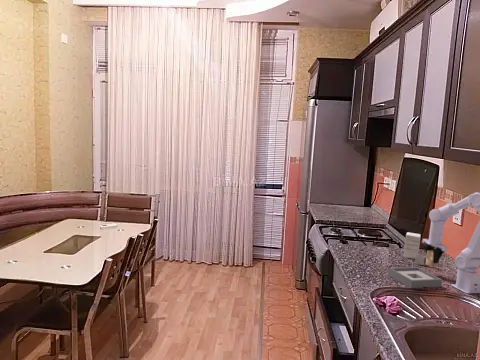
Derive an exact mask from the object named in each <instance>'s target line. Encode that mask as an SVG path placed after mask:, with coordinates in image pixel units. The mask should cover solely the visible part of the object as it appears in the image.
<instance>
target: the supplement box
mask: <svg viewBox="0 0 480 360" xmlns="http://www.w3.org/2000/svg"><path fill="white" fill-rule="evenodd" d="M421 235H422V234H420V233H414V232H409V231H408V232H406V234H405V239H404V240H405V241H404V247H403V253H402V254H403V257H404V258H408V259H413V260H415V259H416V255H418V254H420V253H419V251H420V245H421Z"/></svg>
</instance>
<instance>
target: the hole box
mask: <svg viewBox="0 0 480 360" xmlns="http://www.w3.org/2000/svg"><path fill="white" fill-rule="evenodd" d="M387 275H388V276H389V277H391V278H392V279H394V280H395V281H397V282H400V283H401V284H403V285H405V286H407V287H408V288H409V287H410V288H409V289H423V287H430V288H442V285H443V284H442V283H443V279H442V278H440V277H438V276H436V275H434V274H432V273H431V272H428V271H426V270H424V269H422V268H421V267H418V266H417V267H416V266H413V267H411V266H410V267H389V268H388V274H387Z"/></svg>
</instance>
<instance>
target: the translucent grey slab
mask: <svg viewBox="0 0 480 360" xmlns="http://www.w3.org/2000/svg"><path fill="white" fill-rule="evenodd" d="M425 260H426V254H425V255H423V254H421V253H418V255H416V259H414V264H415V265H421V266H424V265H425Z"/></svg>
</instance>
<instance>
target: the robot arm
mask: <svg viewBox="0 0 480 360" xmlns="http://www.w3.org/2000/svg"><path fill="white" fill-rule="evenodd" d="M471 206H473V208H474V210H476V211H477V213H478V214H479V215H480V192H476V191H475V192H473V193H471V194H469V195H468V196H467V197H465V198H462V199H461V200H459V201H457V202H447V203H446V204H445V205H443V206H439V207H438V209H436V208H433V209H432V210H430V211H429V213H428V214H429V215H428V218H429V219H430V226H429V227H430V228H429V236H428V238H422V244H423V248H424V252H425V255H426V256H427V250H433V254H434V258H433V262H434V263H438V262H439V261H440V259H441V257H442V255H444V253H445V252H448V246H447V245H444V244H443V243H442V241H443V234H444V227H445V224H446V222H447V220H448V219H449V218H452V217H454V216H456V215H458V214H459V211H461V210H463V209H465V208H468V207H471ZM454 262H455V266H456V267H457V273H456V274H457V275H456V280H455V281H456V282H455V283H453V284H452V283H451V284H450V286H451V287H453V288H456V289H458V290H459V291H462V292H463V293H465V294H468V295H469V294H480V274H479V273H478V270H479V269H480V219H479V220H478V223H477V225H476V227H475V230H474V231H473V233H472V236H471V237H470V240H469V242H468V244H467V246H466V247H465V248H464V249H463V250H461V251H460V253H459V254H458V255H457V256H456V257H455V261H454ZM439 263H440V262H439Z"/></svg>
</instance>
